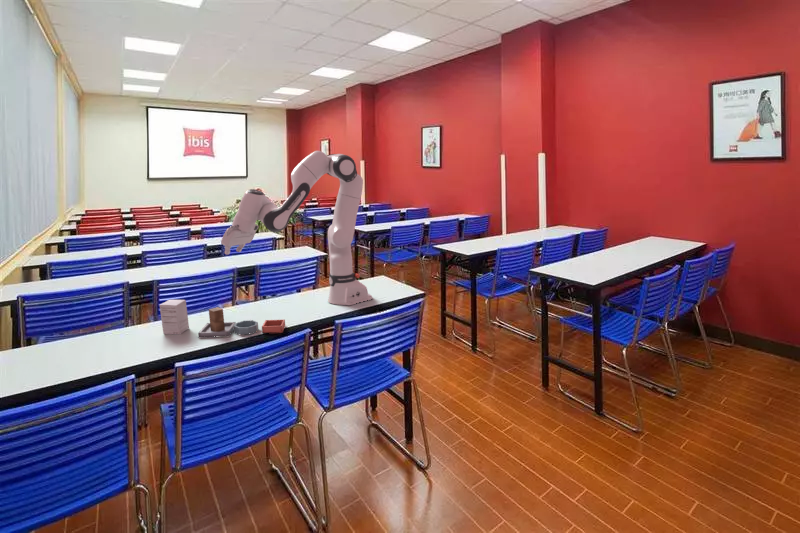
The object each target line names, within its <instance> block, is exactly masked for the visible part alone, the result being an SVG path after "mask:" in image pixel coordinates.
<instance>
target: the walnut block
mask: <svg viewBox="0 0 800 533" xmlns="http://www.w3.org/2000/svg"><path fill="white" fill-rule="evenodd" d="M208 316H209V323H210V328H211V331H213V332H220V331H223V330H225V325H224V322H225V318H224V316H225V315H224V309H223V308H221V307H218V306H217V307H213V308H209V309H208Z"/></svg>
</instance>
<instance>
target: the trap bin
mask: <svg viewBox="0 0 800 533" xmlns="http://www.w3.org/2000/svg"><path fill="white" fill-rule="evenodd" d="M284 327H286V319H265V320H264V322H263V324H262V326H261V332H262V333H269V334H282V333H284V330H285V328H284ZM262 333H261V334H262Z"/></svg>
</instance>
